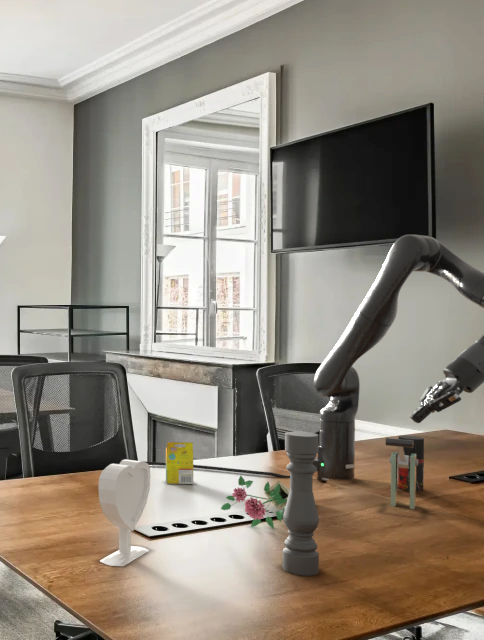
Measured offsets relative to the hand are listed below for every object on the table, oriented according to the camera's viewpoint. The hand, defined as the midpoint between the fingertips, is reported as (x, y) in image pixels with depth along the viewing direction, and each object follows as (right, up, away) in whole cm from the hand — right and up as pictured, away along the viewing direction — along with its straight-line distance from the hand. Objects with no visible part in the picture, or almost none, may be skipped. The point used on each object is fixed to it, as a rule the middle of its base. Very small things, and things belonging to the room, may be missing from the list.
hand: (413, 420), depth 168 cm
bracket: (+3, -23, +10) cm, 26 cm away
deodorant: (+15, -23, +28) cm, 39 cm away
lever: (0, -9, +5) cm, 11 cm away
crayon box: (-44, -23, +38) cm, 63 cm away
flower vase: (-31, -23, 0) cm, 39 cm away
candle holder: (-39, -23, -32) cm, 55 cm away
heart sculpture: (-70, -23, -25) cm, 78 cm away
